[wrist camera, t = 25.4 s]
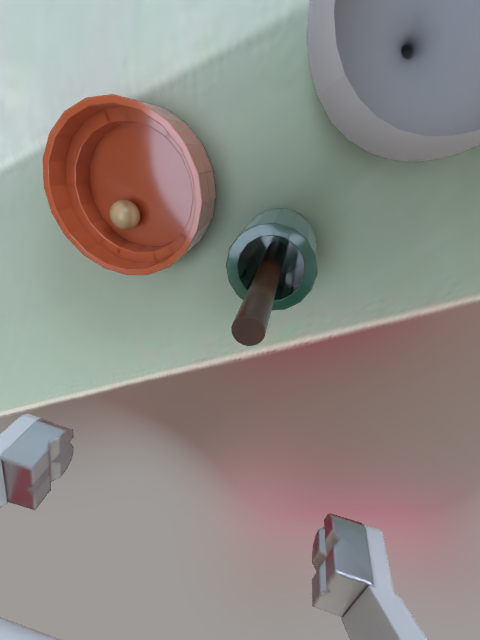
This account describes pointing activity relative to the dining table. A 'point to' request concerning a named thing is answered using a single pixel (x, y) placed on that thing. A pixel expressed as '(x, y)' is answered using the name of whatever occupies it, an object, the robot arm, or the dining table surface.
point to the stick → (259, 297)
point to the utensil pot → (297, 261)
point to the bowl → (128, 182)
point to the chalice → (399, 74)
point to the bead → (124, 214)
